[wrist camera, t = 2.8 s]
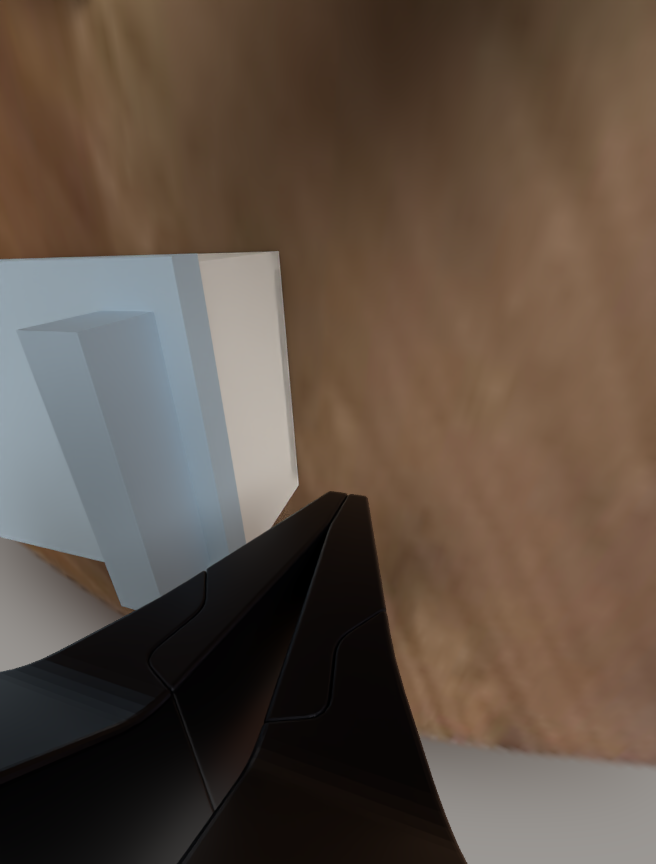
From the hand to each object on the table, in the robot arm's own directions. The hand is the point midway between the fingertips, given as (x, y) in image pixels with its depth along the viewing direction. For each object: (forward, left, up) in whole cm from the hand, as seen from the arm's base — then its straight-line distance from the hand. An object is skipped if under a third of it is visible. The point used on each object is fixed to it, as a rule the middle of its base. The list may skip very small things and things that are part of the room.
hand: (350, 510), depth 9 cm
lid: (+12, 0, -2) cm, 12 cm away
